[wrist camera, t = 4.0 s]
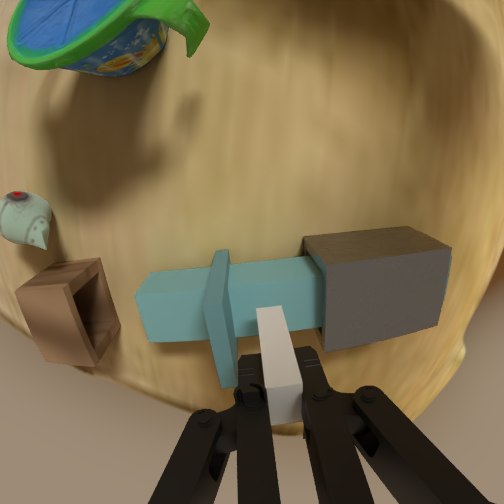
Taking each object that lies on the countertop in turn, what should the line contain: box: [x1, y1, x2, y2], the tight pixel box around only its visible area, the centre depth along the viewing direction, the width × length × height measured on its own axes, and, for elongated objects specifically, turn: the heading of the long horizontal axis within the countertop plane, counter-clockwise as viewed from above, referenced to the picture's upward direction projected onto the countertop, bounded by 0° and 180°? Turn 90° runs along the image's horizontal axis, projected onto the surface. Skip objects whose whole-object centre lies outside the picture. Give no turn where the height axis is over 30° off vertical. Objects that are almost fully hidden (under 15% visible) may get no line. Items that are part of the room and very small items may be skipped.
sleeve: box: [303, 226, 452, 353], centre depth 20 cm, size 7×10×6 cm, turn 96°
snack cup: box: [7, 0, 210, 77], centre depth 11 cm, size 16×10×10 cm
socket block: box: [14, 258, 121, 367], centre depth 20 cm, size 7×6×6 cm
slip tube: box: [134, 250, 452, 388], centre depth 19 cm, size 6×24×9 cm, turn 96°
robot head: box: [0, 191, 52, 250], centre depth 17 cm, size 8×4×7 cm, turn 69°
